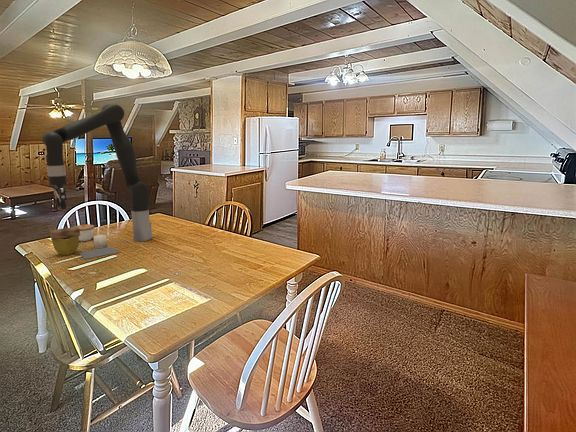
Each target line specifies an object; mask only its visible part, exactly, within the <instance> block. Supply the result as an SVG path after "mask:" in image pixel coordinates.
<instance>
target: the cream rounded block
mask: <svg viewBox="0 0 576 432" xmlns="http://www.w3.org/2000/svg"><path fill="white" fill-rule="evenodd" d="M92 238H93V245H94V248H95V249H101V248H107V247H108V242H107V234H94V236H93V237H92Z"/></svg>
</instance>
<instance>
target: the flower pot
mask: <svg viewBox="0 0 576 432" xmlns="http://www.w3.org/2000/svg"><path fill="white" fill-rule="evenodd" d="M50 239H51V238H50ZM51 242H52V243H51V244H52V246H53V248H54V250H55V251H56V252H57V253H58V255H61V256H70V255H71V254H74V253H76V251H77V250H78V248H79V242H80V241H79V236H76V237H69V238H63V239H57V240H52V239H51Z"/></svg>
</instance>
